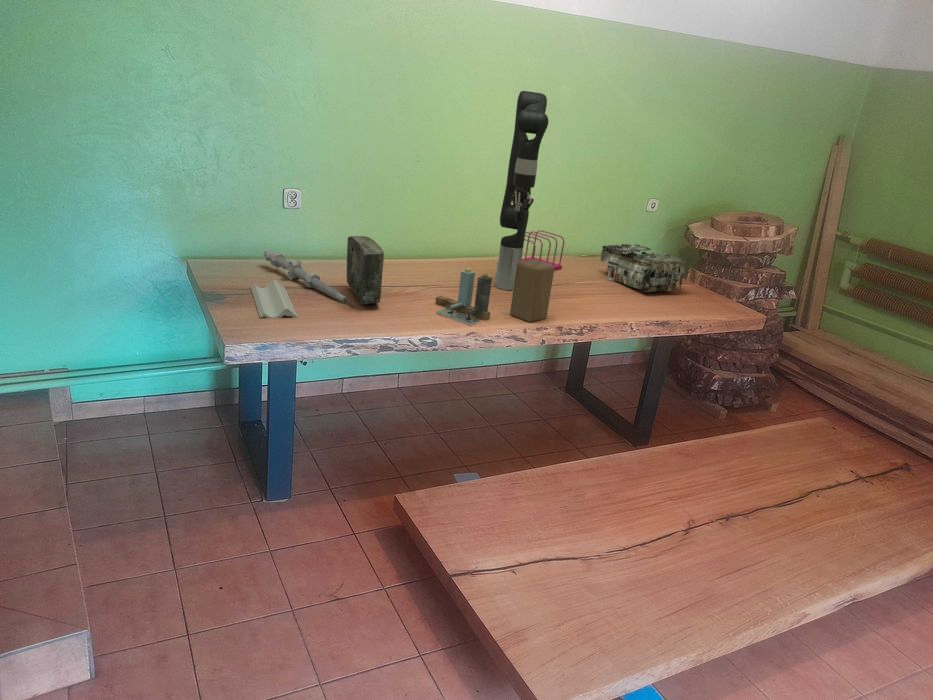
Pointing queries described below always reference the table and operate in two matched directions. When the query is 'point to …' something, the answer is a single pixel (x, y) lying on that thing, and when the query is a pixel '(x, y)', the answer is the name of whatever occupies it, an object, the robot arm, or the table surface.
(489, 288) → the dark grey l-shaped piece
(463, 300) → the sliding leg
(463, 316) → the grey flat plate
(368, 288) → the concrete block
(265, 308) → the crown molding
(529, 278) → the block
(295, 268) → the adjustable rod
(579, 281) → the table surface
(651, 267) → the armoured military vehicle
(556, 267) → the file sorter
